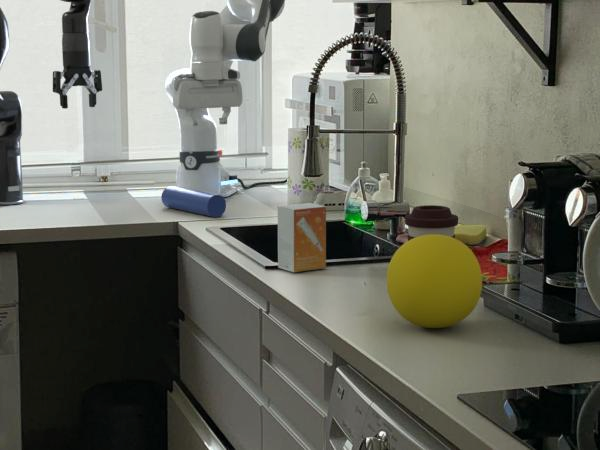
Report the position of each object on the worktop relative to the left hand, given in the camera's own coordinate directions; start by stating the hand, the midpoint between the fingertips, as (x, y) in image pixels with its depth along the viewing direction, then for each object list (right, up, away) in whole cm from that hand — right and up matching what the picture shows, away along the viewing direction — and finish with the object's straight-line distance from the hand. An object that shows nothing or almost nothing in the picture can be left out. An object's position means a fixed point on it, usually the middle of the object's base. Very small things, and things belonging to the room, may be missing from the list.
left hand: (78, 107), depth 295 cm
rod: (+33, -30, -3) cm, 44 cm away
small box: (+63, -42, -80) cm, 110 cm away
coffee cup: (+87, -45, -97) cm, 138 cm away
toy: (+84, -50, -126) cm, 159 cm away
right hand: (+38, -6, -15) cm, 41 cm away
